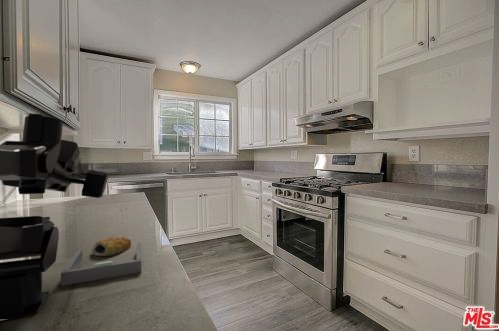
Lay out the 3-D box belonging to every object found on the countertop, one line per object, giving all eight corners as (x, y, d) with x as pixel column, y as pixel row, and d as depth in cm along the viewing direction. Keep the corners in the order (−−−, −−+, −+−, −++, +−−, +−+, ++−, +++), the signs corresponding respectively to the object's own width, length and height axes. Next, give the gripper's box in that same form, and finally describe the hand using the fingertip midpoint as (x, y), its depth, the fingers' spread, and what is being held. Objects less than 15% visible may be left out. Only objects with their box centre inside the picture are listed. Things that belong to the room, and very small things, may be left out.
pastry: (119, 244, 70) (119, 231, 70) (137, 246, 67) (137, 233, 67) (88, 255, 61) (89, 240, 61) (108, 259, 58) (108, 244, 58)
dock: (141, 272, 51) (141, 257, 51) (60, 286, 45) (60, 269, 45) (141, 251, 63) (141, 240, 63) (77, 260, 57) (77, 247, 57)
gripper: (108, 146, 53) (118, 161, 67) (2, 124, 47) (38, 146, 61) (94, 195, 50) (107, 200, 64) (-21, 179, 44) (22, 189, 58)
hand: (70, 183), depth 62 cm, fingers open, 9 cm apart
